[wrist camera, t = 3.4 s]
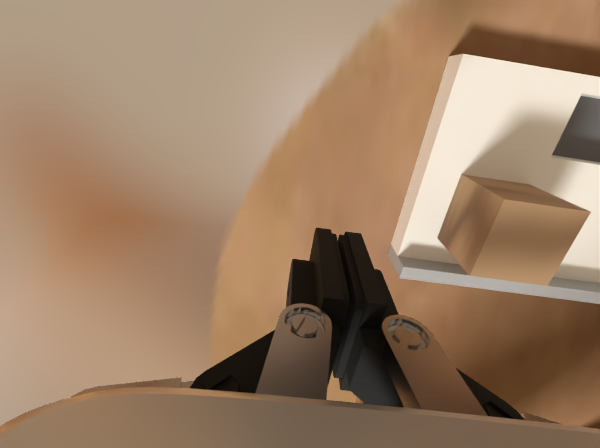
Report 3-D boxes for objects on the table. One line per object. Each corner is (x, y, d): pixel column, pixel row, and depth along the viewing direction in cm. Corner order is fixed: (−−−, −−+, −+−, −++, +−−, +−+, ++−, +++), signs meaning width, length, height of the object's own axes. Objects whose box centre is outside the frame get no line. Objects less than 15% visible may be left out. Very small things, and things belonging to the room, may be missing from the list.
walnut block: (500, 246, 23) (547, 286, 19) (437, 238, 23) (469, 275, 19) (530, 184, 21) (591, 211, 17) (461, 174, 21) (504, 199, 17)
